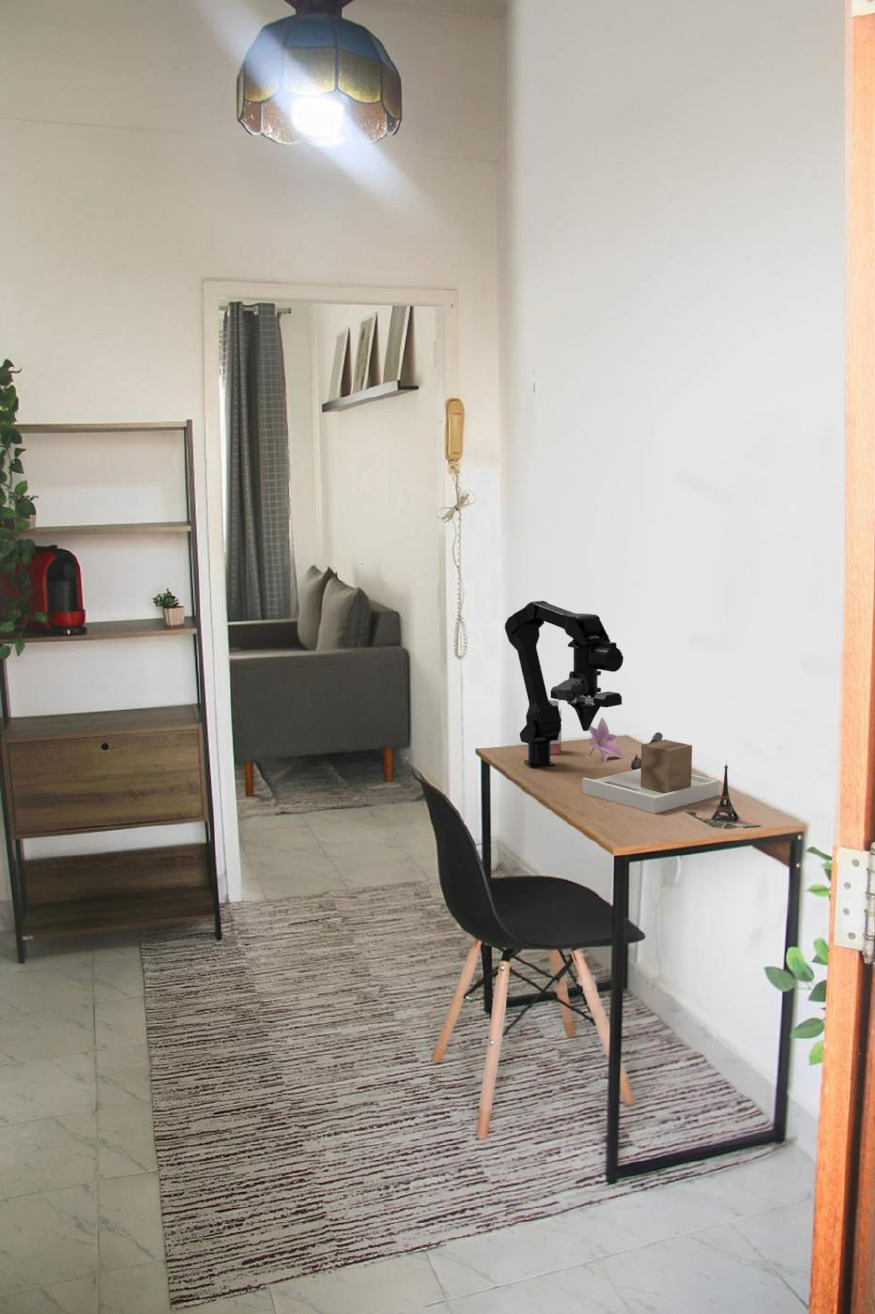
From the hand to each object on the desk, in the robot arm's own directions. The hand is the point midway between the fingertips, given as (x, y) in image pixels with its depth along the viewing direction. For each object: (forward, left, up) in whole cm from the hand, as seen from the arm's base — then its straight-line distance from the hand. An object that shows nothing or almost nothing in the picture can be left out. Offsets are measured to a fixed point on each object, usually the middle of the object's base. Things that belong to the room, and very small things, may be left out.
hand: (585, 730), depth 267 cm
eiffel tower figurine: (+38, +16, -13) cm, 44 cm away
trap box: (+16, +10, -12) cm, 23 cm away
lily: (-19, +12, -12) cm, 26 cm away
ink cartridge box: (-30, 0, -12) cm, 32 cm away
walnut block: (+21, +12, -10) cm, 26 cm away
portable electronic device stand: (-7, +20, -12) cm, 25 cm away
